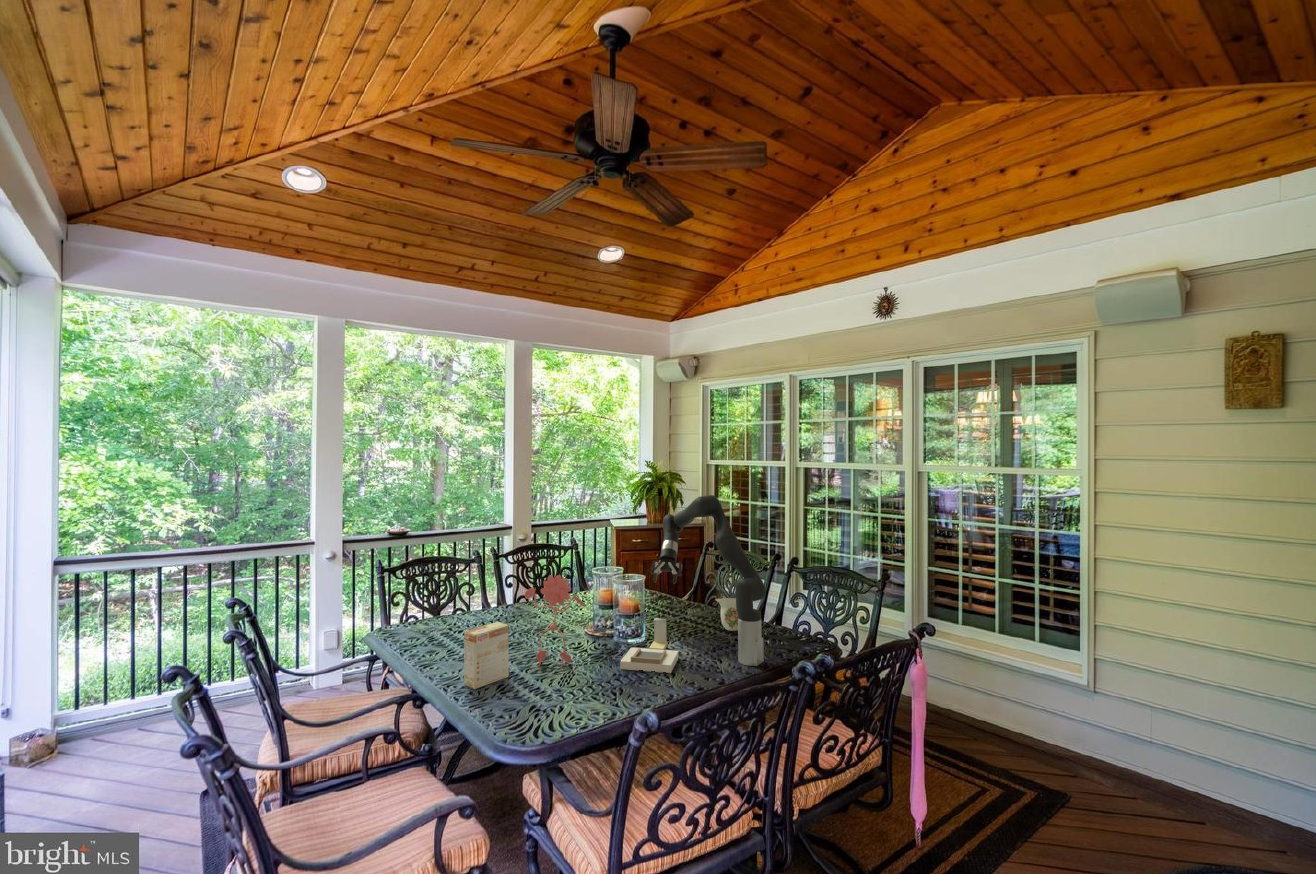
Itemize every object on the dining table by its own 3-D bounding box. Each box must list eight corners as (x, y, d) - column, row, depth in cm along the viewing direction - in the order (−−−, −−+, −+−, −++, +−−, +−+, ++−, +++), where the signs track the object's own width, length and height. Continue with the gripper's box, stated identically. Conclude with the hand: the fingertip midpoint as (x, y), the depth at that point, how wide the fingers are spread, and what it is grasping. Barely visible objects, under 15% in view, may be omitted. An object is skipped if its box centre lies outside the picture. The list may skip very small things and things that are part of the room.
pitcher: (754, 632, 270) (754, 603, 271) (715, 632, 272) (715, 602, 272) (752, 625, 281) (752, 597, 282) (715, 625, 283) (714, 596, 283)
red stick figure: (581, 671, 224) (581, 579, 226) (518, 667, 229) (519, 577, 230) (593, 658, 239) (593, 572, 241) (533, 654, 244) (534, 570, 245)
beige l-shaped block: (653, 646, 252) (653, 617, 252) (668, 647, 251) (667, 618, 251) (648, 654, 243) (648, 623, 243) (663, 655, 242) (663, 624, 242)
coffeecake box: (498, 672, 224) (498, 621, 224) (509, 677, 219) (509, 624, 219) (463, 684, 212) (463, 630, 212) (474, 689, 207) (474, 634, 208)
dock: (678, 658, 238) (678, 646, 238) (670, 673, 222) (670, 660, 222) (631, 654, 243) (631, 642, 243) (620, 669, 227) (620, 656, 227)
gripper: (653, 546, 272) (647, 577, 261) (683, 548, 269) (679, 579, 258) (655, 555, 277) (650, 586, 266) (684, 557, 274) (680, 587, 263)
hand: (664, 582), depth 262 cm, fingers open, 8 cm apart
